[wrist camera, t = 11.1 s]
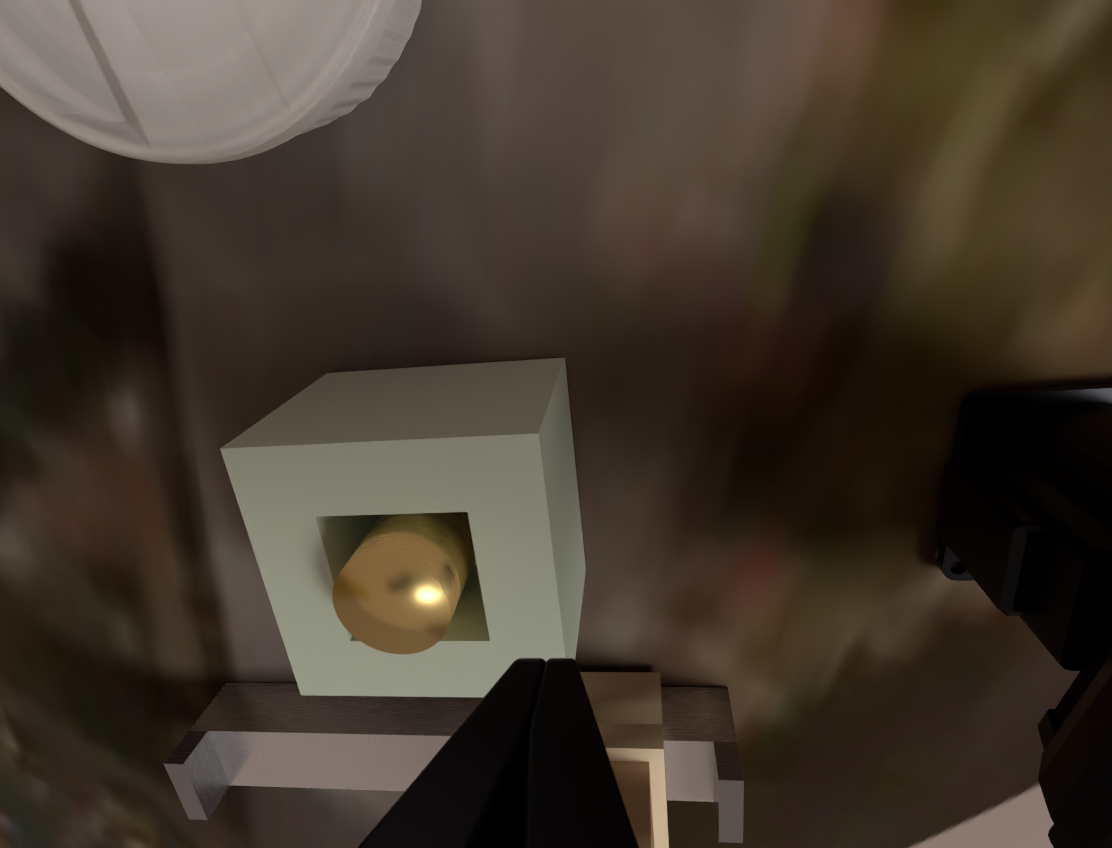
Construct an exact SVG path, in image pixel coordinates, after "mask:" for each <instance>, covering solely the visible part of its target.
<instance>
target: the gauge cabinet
mask: <svg viewBox="0 0 1112 848" xmlns="http://www.w3.org/2000/svg"><path fill="white" fill-rule="evenodd" d="M220 450H221V453H222V456H223V459H224V462H225V465H226V468H227V471H228V474H229V477H230V480H231V483H232V486H233V490H234V493H235V496H236V499H237V502H238V505H239V508H240V511H241V514H242V517H243V520H244V523H245V526H246V529H247V532H248V535H249V538H250V541H251V544H252V547H253V551H254V554H255V557H256V560H257V563H258V566H259V569H260V572H261V575H262V578H263V581H264V584H265V587H266V590H267V593H268V596H269V599H270V602H271V605H272V608H273V612H274V615H275V618H276V621H277V624H278V627H279V630H280V633H281V636H282V639H283V642H284V645H285V648H286V651H287V654H288V657H289V660H290V663H291V666H292V669H293V673H294V676H295V679H296V682H297V685H298V688H299V691H300V694H301V695H319V696H401V697H484V696H485V695H486V694H487V693H488V692H489V690H490V689H491V688H492V687H493V686H494V684H495V683H496V682H497V681H498V680H499V678H500V677H501V676H502V675H503V674H504V673H505V671H506V670H507V669H508V668H509V667H510V665H511V664H512V663H513V662H514V661H515V660H516V659H518V658H542V659H544V660H545V661H547V660H548V659H550V658H573V659H575V657H576V649H577V640H578V632H579V623H580V615H581V606H582V598H583V590H584V581H585V573H586V566H585V556H584V546H583V536H582V526H581V515H580V505H579V495H578V485H577V475H576V465H575V455H574V445H573V435H572V424H571V414H570V404H569V394H568V384H567V374H566V364H565V358H551V359H535V360H520V361H504V362H489V363H474V364H458V365H443V366H427V367H412V368H396V369H381V370H366V371H350V372H335V373H326V374H325V375H324V376H322V377H321V378H319V379H318V380H317V381H315V382H314V383H312V384H311V385H309V386H308V387H307V388H305V389H304V390H302V391H301V392H300V393H298V394H297V395H295V396H294V397H292V398H291V399H290V400H288V401H287V402H285V403H284V404H283V405H281V406H280V407H278V408H277V409H276V410H274V411H273V412H271V413H270V414H268V415H267V416H266V417H264V418H263V419H261V420H260V421H259V422H257V423H256V424H254V425H253V426H252V427H250V428H249V429H247V430H246V431H244V432H243V433H242V434H240V435H239V436H237V437H236V438H235V439H233V440H232V441H230V442H229V443H227V444H226V445H225V446H223V447H222V448H220ZM447 512H468V518H469V524H470V529H471V535H472V541H473V546H474V552H475V561H474V563H473V566H472V568H471V571H470V573H469V576H468V578H467V581H466V583H465V586H464V588H463V591H462V594H461V596H460V599H459V601H458V604H457V606H456V609H455V611H454V614H453V616H452V619H451V621H450V624H449V626H448V629H447V631H446V633H445V635H444V636H443V637H442V639H441V640H440V641H439V642H438V643H436V644H435V645H434V646H432V647H431V648H429V649H427V650H424V651H422V652H418V653H414V654H403V655H402V654H391V653H386V652H382V651H379V650H376V649H374V648H371V647H369V646H367V645H365V644H364V643H362V642H361V641H359V640H358V639H356V638H355V637H354V636H353V635H352V634H351V633H349V632H348V630H347V629H346V628H345V627H344V626H343V624H342V623H341V621H340V620H339V618H338V616H337V614H336V612H335V609H334V605H333V600H332V592H333V586H334V582H335V580H336V578H337V576H338V575H339V573H340V572H341V571H342V569H343V568H344V566H345V565H346V563H347V562H348V561H349V559H350V558H351V556H352V555H353V554H354V552H355V551H356V549H357V548H358V546H359V545H360V544H361V542H362V541H363V539H364V538H365V537H366V535H367V534H368V532H369V531H370V529H371V528H372V527H373V525H374V524H375V522H376V521H377V520H378V518H379V517H380V515H381V514H414V513H447Z"/></svg>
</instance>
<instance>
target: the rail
mask: <svg viewBox="0 0 1112 848" xmlns="http://www.w3.org/2000/svg"><path fill="white" fill-rule="evenodd" d="M483 698H484V697H401V696H319V695H301V694H300V691H299V688H298V685H297V683H226V684H225V685H224V687H223V688H222V689H221V690H220V692H219V693H218V694H217V696H216V697H215V698H214V699H213V701H212V702H211V703H210V705H209V706H208V707H207V709H206V710H205V711H204V712H203V714H202V715H201V716H200V718H199V719H198V720H197V721H196V723H195V724H194V725H193V727H192V728H191V729H190V730H189V732H188V733H187V734H186V736H185V737H184V738H183V739H182V741H181V742H180V743H179V745H178V746H177V747H176V749H175V750H174V751H173V752H172V754H171V755H170V756H169V758H168V759H167V760H166V761H165V763H164V765H165V768H166V770H167V772H168V774H169V776H170V779H171V781H172V783H173V785H174V787H175V789H176V792H177V794H178V796H179V798H180V800H181V803H182V805H183V807H184V809H185V811H186V813H187V816H188V818H189V819H196V820H208V819H209V817H210V816H211V814H212V813H213V811H214V809H215V808H216V806H217V805H218V803H219V802H220V800H221V799H222V797H223V795H224V794H225V792H226V791H227V789H228V788H229V786H230V785H240V786H269V787H298V788H327V789H357V790H386V791H406V789H407V788H408V787H409V786H410V785H411V783H412V782H413V781H414V780H415V779H416V777H417V776H418V775H419V774H420V773H421V771H422V770H423V769H424V768H425V767H426V766H427V764H428V763H429V762H430V761H431V760H432V758H433V757H434V756H435V755H436V754H437V752H438V751H439V750H440V749H441V748H442V746H443V745H444V744H445V743H446V742H447V740H448V739H449V738H450V737H451V736H452V735H453V733H454V732H455V731H456V730H457V729H458V727H459V726H460V725H461V724H462V723H463V721H464V720H465V719H466V718H467V717H468V715H469V714H470V713H471V712H472V711H473V709H474V708H475V707H476V706H477V705H478V704H479V702H480V701H481V700H482V699H483ZM661 702H662V723H663V743H664V763H665V783H666V800H678V801H707V802H714V805H715V813H716V821H717V830H718V838H719V842H731V843H743V797H744V780H743V774H742V768H741V762H740V757H739V751H738V745H737V739H736V734H735V728H734V722H733V716H732V711H731V705H730V699H729V693H728V688H727V687H661Z"/></svg>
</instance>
